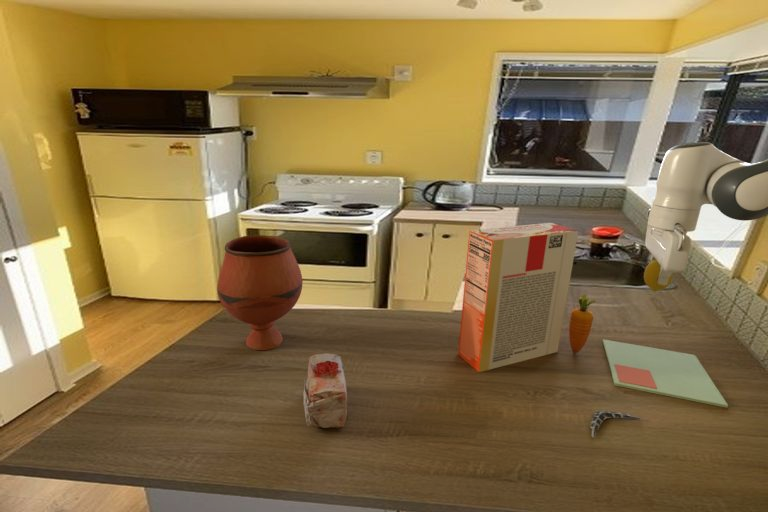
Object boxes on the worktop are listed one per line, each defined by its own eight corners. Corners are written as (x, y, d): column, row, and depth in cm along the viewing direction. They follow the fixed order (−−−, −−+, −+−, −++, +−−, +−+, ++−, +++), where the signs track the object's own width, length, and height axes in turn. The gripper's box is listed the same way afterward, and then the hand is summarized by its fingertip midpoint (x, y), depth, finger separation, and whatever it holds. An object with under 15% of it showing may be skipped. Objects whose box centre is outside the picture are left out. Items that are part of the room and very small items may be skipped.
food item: (351, 432, 74) (351, 383, 71) (304, 437, 72) (302, 388, 69) (342, 385, 87) (342, 342, 84) (303, 389, 85) (301, 346, 82)
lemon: (642, 284, 101) (649, 253, 98) (669, 290, 98) (678, 258, 95) (639, 292, 97) (646, 258, 94) (667, 298, 94) (676, 264, 91)
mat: (694, 357, 101) (695, 354, 101) (727, 408, 83) (728, 405, 83) (602, 341, 107) (602, 338, 107) (614, 385, 89) (615, 382, 89)
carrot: (568, 345, 105) (579, 289, 100) (589, 353, 101) (601, 295, 97) (560, 352, 101) (570, 295, 97) (581, 361, 98) (592, 301, 93)
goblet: (256, 373, 90) (248, 262, 82) (206, 344, 101) (194, 243, 93) (321, 339, 104) (319, 242, 97) (271, 316, 115) (265, 227, 108)
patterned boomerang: (620, 401, 83) (644, 418, 79) (620, 404, 83) (643, 421, 79) (571, 416, 78) (594, 436, 74) (571, 420, 78) (593, 439, 74)
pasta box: (533, 336, 109) (550, 222, 99) (557, 351, 102) (578, 230, 92) (458, 354, 100) (469, 230, 90) (478, 372, 93) (493, 240, 83)
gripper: (705, 232, 82) (687, 297, 86) (676, 211, 100) (662, 267, 104) (667, 228, 84) (652, 292, 88) (646, 209, 102) (634, 263, 106)
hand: (657, 278), depth 96 cm, fingers closed on lemon, 5 cm apart
